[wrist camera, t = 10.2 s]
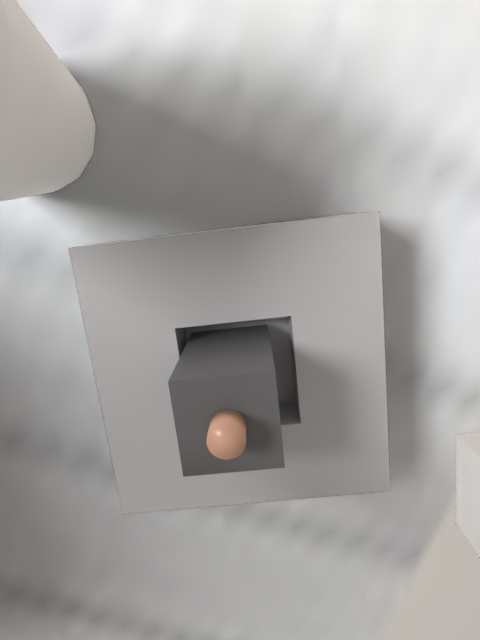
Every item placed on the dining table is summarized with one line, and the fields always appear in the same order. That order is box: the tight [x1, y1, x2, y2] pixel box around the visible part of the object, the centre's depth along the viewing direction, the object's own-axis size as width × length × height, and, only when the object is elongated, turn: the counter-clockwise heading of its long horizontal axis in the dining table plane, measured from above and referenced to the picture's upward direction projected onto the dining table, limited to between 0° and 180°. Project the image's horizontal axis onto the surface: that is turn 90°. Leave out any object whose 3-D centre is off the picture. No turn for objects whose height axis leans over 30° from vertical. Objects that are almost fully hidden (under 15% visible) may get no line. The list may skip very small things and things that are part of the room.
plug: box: [168, 325, 285, 477], centre depth 19 cm, size 4×4×8 cm
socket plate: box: [68, 212, 390, 514], centre depth 22 cm, size 14×14×4 cm
